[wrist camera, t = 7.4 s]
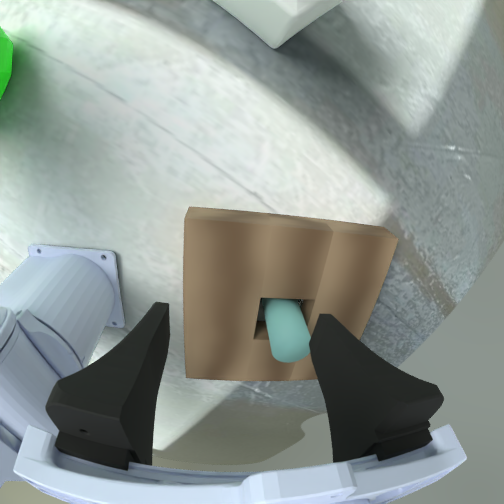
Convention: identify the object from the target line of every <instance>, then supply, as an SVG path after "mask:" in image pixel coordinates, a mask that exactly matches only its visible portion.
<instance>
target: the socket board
mask: <svg viewBox="0 0 504 504" xmlns="http://www.w3.org/2000/svg"><path fill="white" fill-rule="evenodd" d="M397 242H398V238H397V237H395V236H394V235H393V234H392V233H390V232H389V231H388V230H387V229H386V228H384V227H379V226H372V225H364V224H357V223H349V222H341V221H333V220H325V219H317V218H308V217H299V216H290V215H280V214H270V213H260V212H249V211H238V210H226V209H213V208H200V207H189V208H188V211H187V213H186V216H185V221H184V256H183V313H184V348H185V369H186V378H194V379H209V380H230V381H292V380H313V379H318V378H317V375H316V372H315V369H314V366H313V363H312V359H311V354H310V353H309V354H308V355H307V356H306V357H304V358H303V359H301V360H299V361H296V362H289V363H287V362H281V361H278V360H276V359H275V358H274V357H273V355H272V351H271V346H270V341H269V335H268V330H267V325H266V321H257V316H258V310H259V304H260V298H283V299H304V300H303V303H302V307H301V311H302V314H303V317H304V320H305V323H306V325H307V328H308V331H309V334H310V337H311V336H312V333H313V331H314V328H315V325H316V322H317V319H318V316H319V314H331V315H333V316H334V317H335V318H336V319H337V320H338V321H339V322H340V323H341V324H342V325H343V326H345V327H346V328H347V329H348V330H349V331H350V332H351V333H352V334H353V335H354V336H355V337H356V338H357V339H358V340H360V338H361V336H362V334H363V332H364V329H365V327H366V325H367V322H368V320H369V318H370V315H371V313H372V311H373V308H374V306H375V303H376V301H377V298H378V296H379V293H380V291H381V288H382V285H383V283H384V280H385V277H386V275H387V272H388V269H389V266H390V263H391V260H392V258H393V255H394V252H395V248H396V245H397Z"/></svg>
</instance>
